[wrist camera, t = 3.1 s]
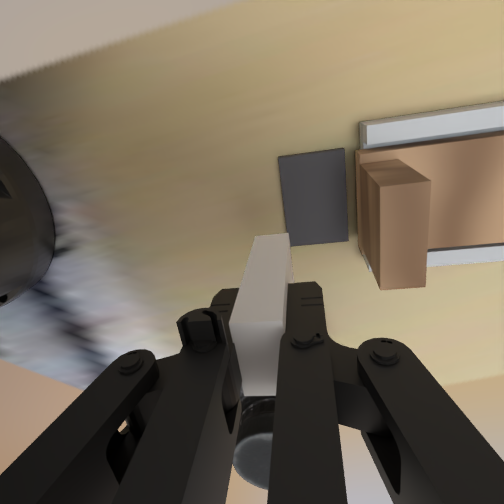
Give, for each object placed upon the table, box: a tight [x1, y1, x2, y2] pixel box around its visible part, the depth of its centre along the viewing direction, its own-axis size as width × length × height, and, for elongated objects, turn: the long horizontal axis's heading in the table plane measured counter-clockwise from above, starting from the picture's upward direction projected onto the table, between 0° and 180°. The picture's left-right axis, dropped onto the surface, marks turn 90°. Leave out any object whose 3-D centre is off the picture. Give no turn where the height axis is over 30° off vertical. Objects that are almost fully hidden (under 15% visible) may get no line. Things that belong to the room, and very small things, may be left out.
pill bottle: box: [232, 385, 276, 490], centre depth 23 cm, size 6×6×11 cm
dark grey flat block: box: [278, 148, 349, 247], centre depth 23 cm, size 4×6×1 cm, turn 9°
